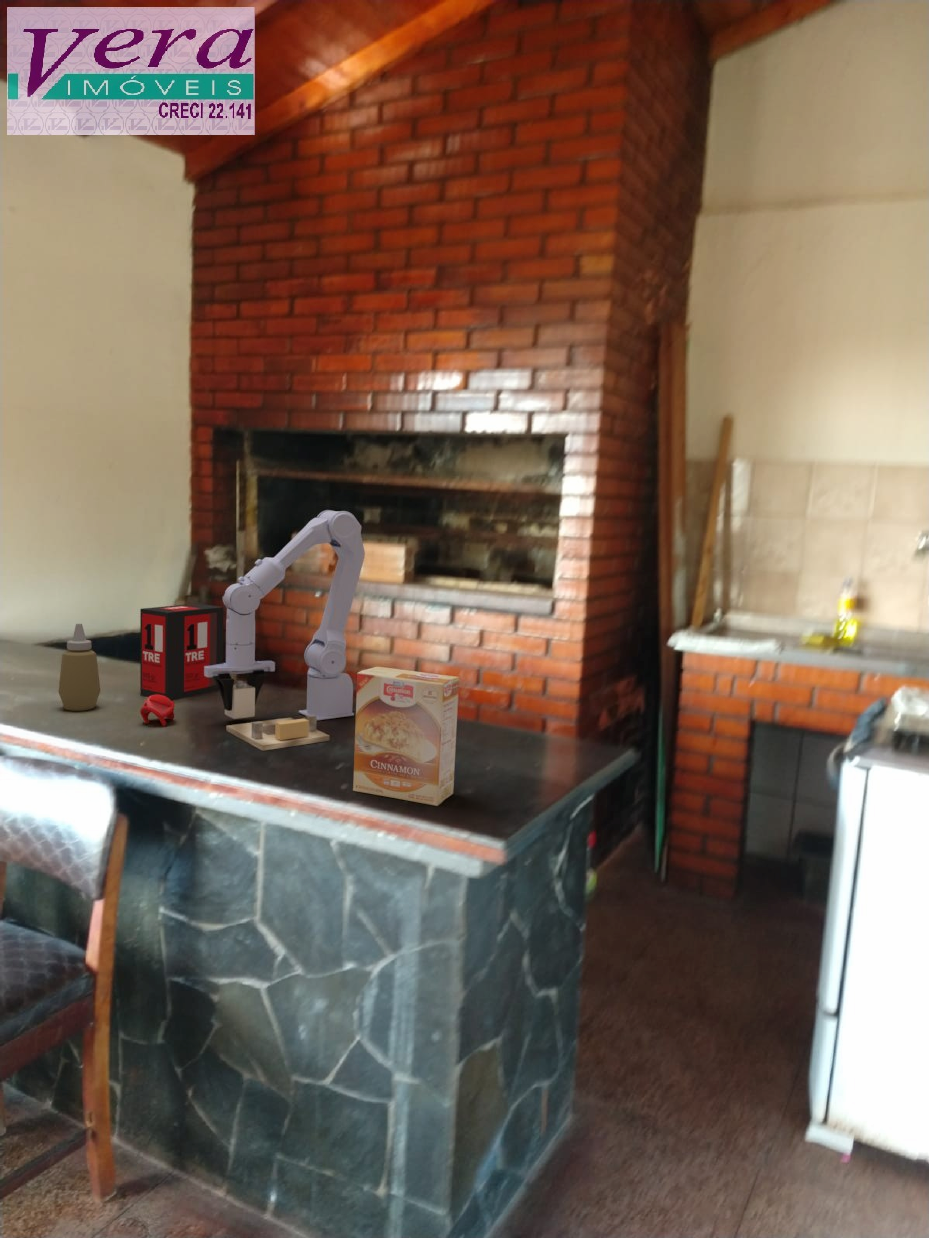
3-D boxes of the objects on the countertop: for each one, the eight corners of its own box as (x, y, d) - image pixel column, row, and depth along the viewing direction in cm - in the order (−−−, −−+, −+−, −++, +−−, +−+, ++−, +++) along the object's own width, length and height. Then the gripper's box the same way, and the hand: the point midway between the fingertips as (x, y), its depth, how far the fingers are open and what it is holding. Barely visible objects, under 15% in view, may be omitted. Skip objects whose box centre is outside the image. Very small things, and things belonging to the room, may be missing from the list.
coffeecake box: (351, 791, 136) (355, 671, 134) (371, 779, 143) (376, 665, 140) (437, 807, 131) (443, 683, 129) (454, 793, 138) (460, 675, 135)
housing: (245, 711, 178) (245, 678, 177) (254, 716, 175) (255, 682, 174) (224, 714, 175) (225, 680, 174) (234, 718, 172) (234, 685, 171)
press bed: (290, 722, 177) (290, 703, 176) (329, 740, 165) (329, 720, 164) (226, 730, 168) (226, 710, 168) (262, 750, 156) (263, 729, 155)
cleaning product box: (196, 684, 208) (196, 603, 205) (222, 689, 204) (223, 607, 201) (140, 695, 194) (140, 608, 191) (167, 701, 189) (167, 612, 187)
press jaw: (303, 733, 164) (303, 718, 164) (308, 736, 163) (309, 720, 162) (275, 737, 160) (275, 722, 160) (280, 740, 159) (280, 724, 159)
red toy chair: (162, 713, 166) (181, 693, 170) (136, 701, 167) (155, 681, 171) (163, 738, 171) (182, 718, 176) (138, 726, 172) (157, 706, 177)
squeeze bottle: (49, 709, 178) (48, 624, 175) (80, 702, 185) (79, 620, 183) (79, 714, 175) (78, 628, 172) (109, 707, 182) (108, 623, 180)
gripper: (264, 637, 181) (263, 700, 182) (198, 642, 171) (197, 708, 173) (279, 642, 175) (278, 707, 177) (212, 647, 166) (211, 715, 168)
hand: (239, 708), depth 175 cm, fingers closed on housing, 4 cm apart
